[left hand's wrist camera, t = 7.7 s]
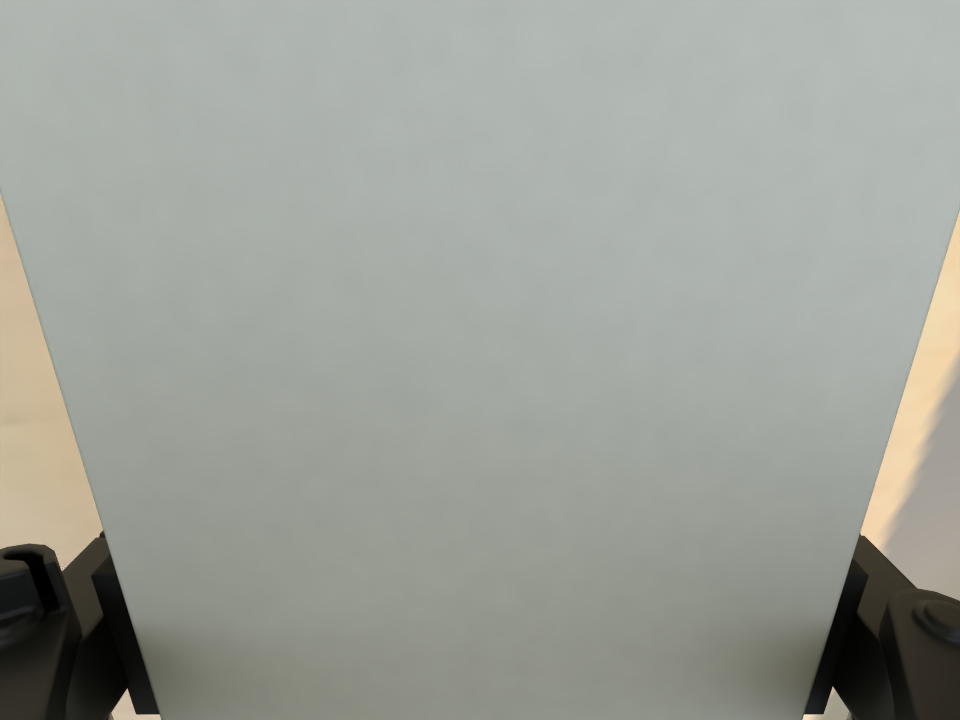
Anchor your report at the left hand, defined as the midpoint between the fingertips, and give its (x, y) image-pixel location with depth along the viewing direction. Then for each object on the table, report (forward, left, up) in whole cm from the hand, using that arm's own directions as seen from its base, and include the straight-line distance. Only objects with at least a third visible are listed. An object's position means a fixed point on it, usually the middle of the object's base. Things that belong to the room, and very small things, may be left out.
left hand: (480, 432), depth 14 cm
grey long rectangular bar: (+14, +10, 0) cm, 17 cm away
